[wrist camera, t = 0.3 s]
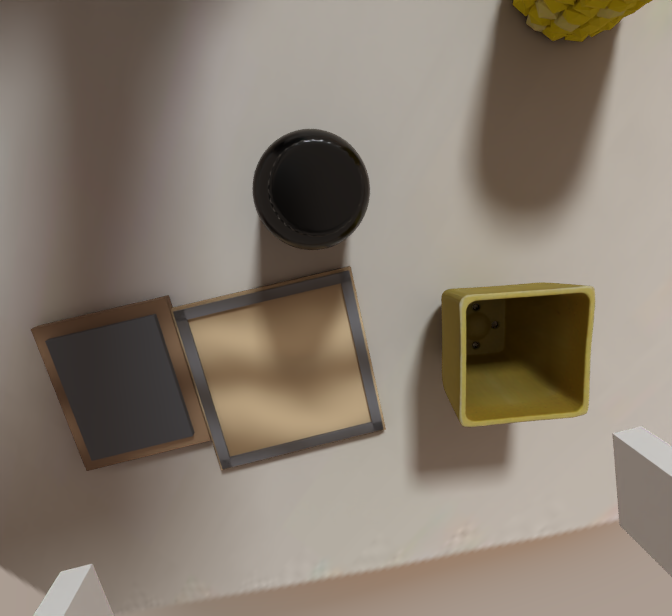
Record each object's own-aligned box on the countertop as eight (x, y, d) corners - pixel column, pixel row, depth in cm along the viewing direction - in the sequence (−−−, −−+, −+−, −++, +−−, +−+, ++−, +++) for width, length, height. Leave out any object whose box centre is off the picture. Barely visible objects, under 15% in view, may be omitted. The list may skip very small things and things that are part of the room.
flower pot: (421, 274, 37) (460, 295, 28) (527, 266, 37) (598, 285, 29) (422, 378, 39) (460, 429, 30) (523, 369, 39) (588, 416, 31)
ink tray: (38, 325, 35) (30, 329, 34) (168, 295, 35) (165, 297, 34) (92, 464, 38) (86, 471, 37) (212, 434, 38) (210, 440, 37)
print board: (172, 307, 35) (169, 310, 35) (349, 266, 36) (351, 267, 35) (222, 466, 39) (220, 472, 38) (384, 425, 39) (386, 430, 38)
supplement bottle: (296, 258, 36) (297, 283, 24) (241, 181, 34) (214, 169, 22) (369, 206, 35) (407, 206, 24) (318, 127, 34) (331, 85, 22)
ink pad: (49, 338, 34) (45, 341, 34) (156, 313, 34) (153, 315, 34) (95, 456, 36) (91, 461, 36) (194, 432, 37) (193, 436, 36)
